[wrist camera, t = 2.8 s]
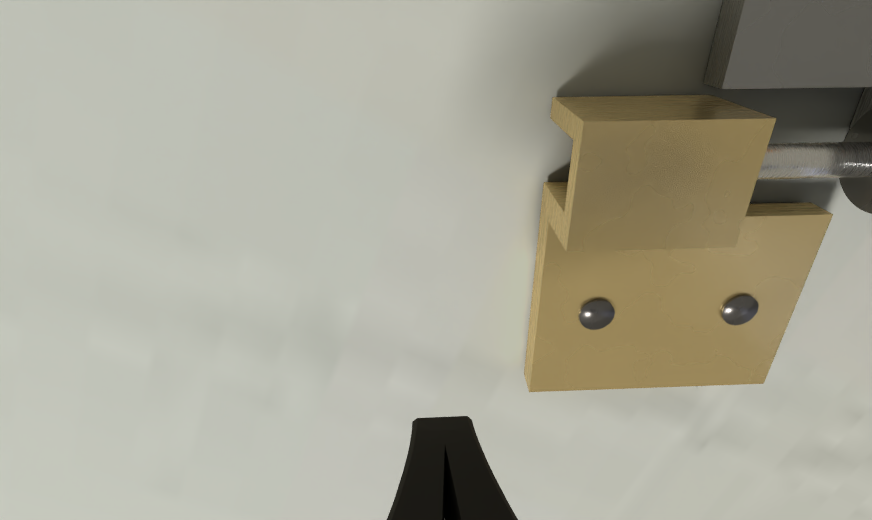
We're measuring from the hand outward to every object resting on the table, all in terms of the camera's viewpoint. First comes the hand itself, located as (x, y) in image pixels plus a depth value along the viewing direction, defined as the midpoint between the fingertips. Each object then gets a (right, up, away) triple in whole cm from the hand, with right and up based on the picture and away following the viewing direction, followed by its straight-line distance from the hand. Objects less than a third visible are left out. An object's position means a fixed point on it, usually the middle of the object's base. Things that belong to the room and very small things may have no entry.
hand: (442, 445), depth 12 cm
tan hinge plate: (+8, +5, +5) cm, 10 cm away
